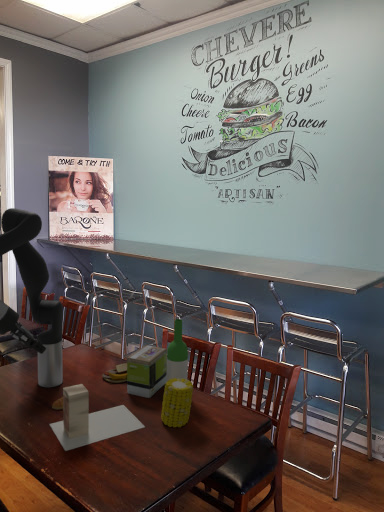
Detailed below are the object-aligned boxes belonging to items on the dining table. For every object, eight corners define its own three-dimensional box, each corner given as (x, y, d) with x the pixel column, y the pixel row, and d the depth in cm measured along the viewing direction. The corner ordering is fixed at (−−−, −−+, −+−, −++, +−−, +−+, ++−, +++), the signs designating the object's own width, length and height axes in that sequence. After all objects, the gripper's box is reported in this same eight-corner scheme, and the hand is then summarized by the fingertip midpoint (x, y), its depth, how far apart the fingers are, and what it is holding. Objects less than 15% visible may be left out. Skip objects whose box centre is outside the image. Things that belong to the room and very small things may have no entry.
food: (166, 417, 151) (193, 424, 148) (152, 426, 140) (181, 434, 137) (172, 373, 152) (200, 379, 149) (160, 378, 141) (189, 385, 138)
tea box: (145, 378, 178) (145, 344, 176) (167, 383, 174) (168, 348, 172) (126, 393, 164) (126, 356, 162) (149, 399, 161) (150, 361, 158)
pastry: (56, 414, 148) (56, 403, 147) (48, 406, 153) (48, 396, 153) (82, 406, 154) (82, 396, 153) (73, 399, 159) (73, 389, 159)
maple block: (62, 429, 137) (62, 388, 135) (82, 424, 141) (81, 383, 139) (68, 439, 132) (68, 395, 130) (88, 433, 136) (88, 391, 134)
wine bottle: (172, 403, 157) (174, 324, 153) (162, 395, 164) (164, 318, 160) (190, 399, 162) (193, 321, 157) (179, 390, 168) (182, 315, 164)
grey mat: (49, 425, 140) (49, 424, 140) (123, 406, 155) (123, 404, 155) (65, 452, 126) (65, 450, 126) (145, 428, 141) (145, 426, 141)
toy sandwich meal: (102, 372, 184) (102, 361, 183) (134, 370, 186) (134, 360, 186) (102, 384, 172) (102, 373, 171) (136, 383, 174) (136, 372, 173)
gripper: (12, 310, 118) (57, 346, 126) (2, 299, 130) (44, 332, 138) (-9, 332, 116) (39, 367, 124) (-17, 319, 127) (27, 351, 136)
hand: (42, 348), depth 131 cm, fingers open, 3 cm apart
